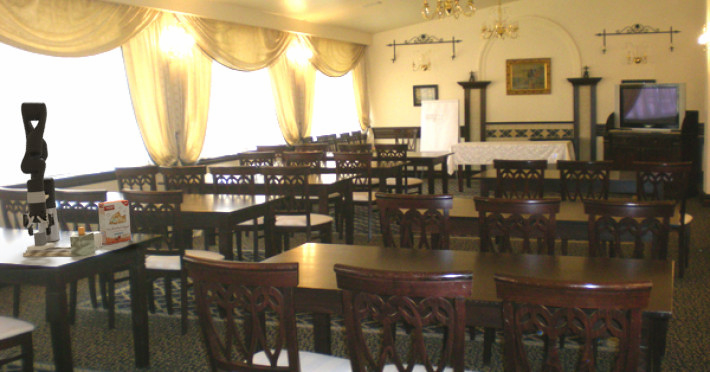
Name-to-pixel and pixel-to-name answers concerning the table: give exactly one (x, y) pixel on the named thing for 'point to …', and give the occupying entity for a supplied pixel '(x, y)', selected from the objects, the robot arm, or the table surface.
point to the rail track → (79, 247)
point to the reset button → (81, 230)
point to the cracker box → (114, 221)
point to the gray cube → (40, 242)
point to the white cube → (97, 238)
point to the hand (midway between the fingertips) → (39, 235)
